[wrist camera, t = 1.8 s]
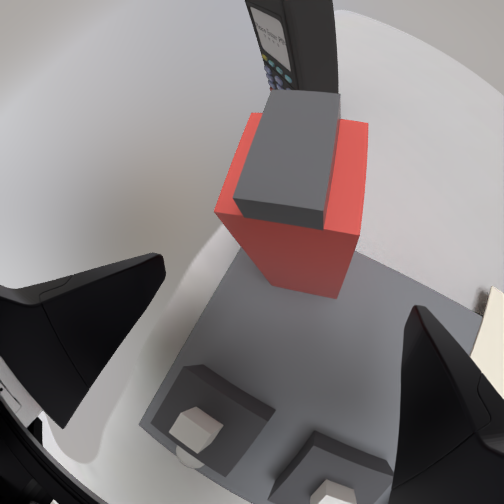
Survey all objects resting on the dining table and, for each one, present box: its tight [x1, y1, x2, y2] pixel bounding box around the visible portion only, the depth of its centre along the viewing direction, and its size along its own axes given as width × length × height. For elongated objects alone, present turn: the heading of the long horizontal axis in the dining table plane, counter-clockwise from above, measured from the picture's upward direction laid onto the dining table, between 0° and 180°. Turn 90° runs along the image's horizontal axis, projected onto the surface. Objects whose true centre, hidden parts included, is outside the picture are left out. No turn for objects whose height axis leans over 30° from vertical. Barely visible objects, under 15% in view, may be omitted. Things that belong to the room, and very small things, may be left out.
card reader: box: [245, 0, 338, 94], centre depth 19 cm, size 9×4×15 cm, turn 23°
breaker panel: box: [139, 247, 504, 504], centre depth 13 cm, size 22×28×6 cm
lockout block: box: [214, 90, 368, 299], centre depth 13 cm, size 5×4×12 cm
